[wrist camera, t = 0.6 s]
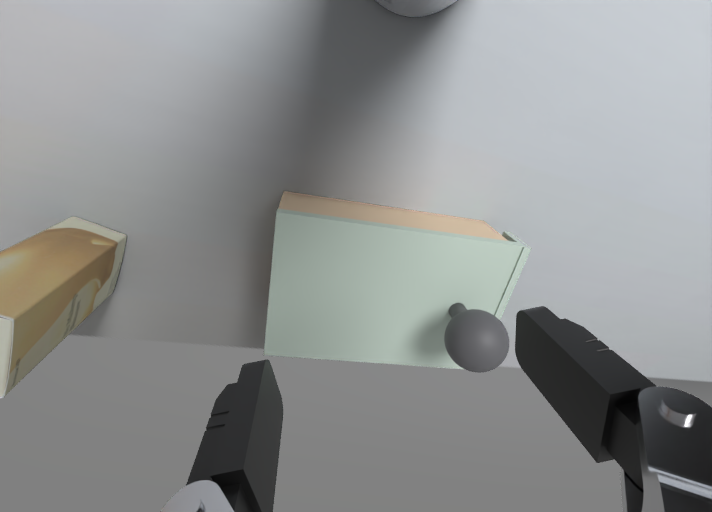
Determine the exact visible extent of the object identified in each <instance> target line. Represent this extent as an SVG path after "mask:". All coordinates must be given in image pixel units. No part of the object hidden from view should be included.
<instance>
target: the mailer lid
mask: <svg viewBox="0 0 712 512" xmlns="http://www.w3.org/2000/svg"><path fill="white" fill-rule="evenodd" d="M502 236H503V237H504V238H505V239H507V240H508V241H505V240H498V239H490V238H483V237H476V236H469V235H462V234H455V233H448V232H441V231H434V230H427V229H419V228H412V227H405V226H398V225H391V224H384V223H377V222H370V221H363V220H356V219H348V218H341V217H334V216H327V215H320V214H313V213H306V212H299V211H292V210H285V209H277V212H276V222H275V233H274V244H273V255H272V266H271V278H270V289H269V300H268V311H267V322H266V333H265V345H264V355H267V356H281V357H296V358H310V359H325V360H339V361H353V362H368V363H382V364H396V365H411V366H425V367H440V368H454V369H466V370H468V371H472V372H487V371H490V370H493V369H495V368H496V367H498V366H499V365H500V364H501V363H502V362H503V361H504V359H505V358H506V356H507V353H508V350H509V337H508V333H507V331H506V328H505V327H504V325H503V324H502V322H501V321H500V319H501V317H502V314H503V312H504V310H505V308H506V305H507V303H508V301H509V299H510V296H511V294H512V292H513V289H514V287H515V285H516V283H517V280H518V278H519V276H520V273H521V271H522V269H523V267H524V264H525V262H526V260H527V258H528V255H529V253H530V251H531V248H530V247H529V246H528V245H526V244H525V243H524V242H522V241H521V240H520V239H518V238H517V237H516V236H514V235H513V234H512V233H510V232H503V235H502Z"/></svg>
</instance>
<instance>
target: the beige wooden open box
mask: <svg viewBox="0 0 712 512" xmlns="http://www.w3.org/2000/svg"><path fill="white" fill-rule="evenodd" d="M278 209H285V210H292V211H299V212H306V213H313V214H320V215H327V216H334V217H341V218H348V219H356V220H363V221H370V222H377V223H384V224H391V225H398V226H405V227H412V228H419V229H427V230H434V231H441V232H448V233H455V234H462V235H469V236H476V237H483V238H490V239H498V240H505V241H508V240H507V239H505V238H504V237H503V236H502V235H501V234H499V233H498V232H497V231H496V230H494V229H493V228H492V227H491V226H489V225H488V224H487V223H486V222H484V221H481V220H474V219H467V218H461V217H454V216H447V215H441V214H434V213H427V212H421V211H414V210H407V209H401V208H394V207H387V206H380V205H374V204H367V203H360V202H354V201H347V200H340V199H334V198H327V197H320V196H314V195H307V194H300V193H294V192H287V191H284V192H283V195H282V198H281V201H280V204H279V208H278Z"/></svg>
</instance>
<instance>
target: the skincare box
mask: <svg viewBox="0 0 712 512" xmlns="http://www.w3.org/2000/svg"><path fill="white" fill-rule="evenodd" d="M126 239H127V236H126V235H125V234H122V233H119V232H116V231H114V230H111V229H109V228H106V227H103V226H100V225H98V224H95V223H92V222H89V221H86V220H83V219H80V218H77V217H70V218H68V219H66V220H64V221H62V222H60V223H58V224H56V225H54V226H52V227H50V228H48V229H46V230H44V231H42V232H40V233H38V234H35V235H33V236H31V237H29V238H27V239H25V240H23V241H21V242H19V243H17V244H15V245H13V246H11V247H9V248H7V249H5V250H3V251H1V252H0V398H3V397H5V396H6V395H7V393H8V392H10V390H12V389H13V388H14V387H15V386H16V385H17V384H18V382H20V381H21V380H22V379H23V378H24V377H25V376H26V375H27V374H28V373H29V372H30V371H31V370H32V369H33V368H34V367H35V366H36V365H37V364H38V363H40V361H42V360H43V359H44V358H45V357H46V356H47V355H48V354H49V353H50V352H51V351H52V350H53V349H54V348H55V347H56V346H57V345H58V344H59V343H60V342H61V341H62V340H63V339H65V338H66V337H67V336H68V335H69V334H70V333H71V332H72V331H73V330H74V329H75V328H76V327H77V326H78V325H79V324H80V323H81V322H82V321H83V320H84V319H85V318H86V317H87V316H88V315H89V314H90V313H92V312H93V311H94V310H95V309H96V308H97V307H98V306H99V305H100V304H101V303H102V302H103V301H104V300H105V299H106V298H107V297H108V296H109V295H110V294H112V292H113V291H114V288H115V285H116V281H117V278H118V274H119V271H120V267H121V263H122V259H123V254H124V249H125V244H126Z"/></svg>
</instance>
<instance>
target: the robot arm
mask: <svg viewBox="0 0 712 512" xmlns="http://www.w3.org/2000/svg"><path fill="white" fill-rule="evenodd" d="M376 1H377V2H378V3H379V4H380V5H382V6H383V7H384V8H386V9H388V10H390V11H392V12H394V13H396V14H398V15H403V16H408V17H421V16H427V15H430V14H433V13H437V12H439V11H441V10H443V9H444V8H446V7H448V6H449V5H451V4H453V3H454V2H456V1H458V0H376ZM515 352H516V357H517V360H518V362H519V364H520V366H521V368H522V369H523V371H524V372H525V373H526V374H527V376H528V377H529V378H530V379H531V381H532V382H533V383H534V384H535V386H536V387H537V388H538V389H539V391H540V392H541V393H542V394H543V396H544V397H545V398H546V399H547V401H548V402H549V403H550V404H551V406H552V407H553V408H554V410H555V411H556V412H557V413H558V414H559V416H560V417H561V418H562V420H563V421H564V422H565V423H566V425H567V426H568V427H569V428H570V429H571V431H572V432H573V433H574V434H575V436H576V437H577V438H578V440H579V441H580V442H581V443H582V445H583V446H584V447H585V448H586V449H587V451H588V452H589V453H590V455H591V456H592V457H593V458H594V460H595V461H596V462H597V463H599V462H604V461H608V460H613V459H615V460H616V461H617V463H618V464H619V465H620V466H621V467H622V468H621V472H620V481H621V495H622V508H623V512H712V407H711V406H710V405H708V404H707V403H706V402H704V401H703V400H701V399H699V398H698V397H695V396H694V395H692V394H689V393H687V392H684V391H682V390H678V389H675V388H670V387H663V386H656V385H655V384H653V383H652V382H651V381H650V380H648V379H647V378H646V377H645V376H643V375H642V374H641V373H640V372H638V371H637V370H636V369H635V368H634V367H632V366H631V365H630V364H629V363H627V362H626V361H625V360H624V359H622V358H621V357H620V356H619V355H617V354H616V353H615V352H614V351H612V350H609V347H608V346H606V345H605V344H604V343H603V342H601V341H600V340H599V341H598V340H597V338H596V337H595V336H594V335H593V334H591V333H590V332H589V331H588V330H586V329H585V328H584V327H582V326H580V325H578V324H576V323H574V322H571V321H569V320H567V319H559V318H558V317H557V316H556V315H555V314H553V313H552V312H551V311H550V310H549V309H548V308H546V307H544V306H541V307H536V308H531V309H526V310H521V311H519V312H518V313H517V317H516V342H515ZM282 421H283V404H282V398H281V394H280V391H279V388H278V385H277V382H276V379H275V376H274V373H273V370H272V367H271V365H270V362H269V360H263V361H257V362H252V363H247V364H244V365H243V366H242V368H241V372H240V375H239V378H238V382H237V383H233V384H228V385H227V386H226V387H225V389H224V390H223V391H222V393H221V394H220V395H219V396H218V398H217V399H216V401H215V404H214V407H213V410H212V413H211V418H209V421H208V424H207V427H206V429H207V431H205V433H204V436H203V439H202V442H201V445H200V447H199V450H198V453H197V456H196V459H195V462H194V465H193V467H192V470H191V473H190V476H189V479H188V482H187V484H186V486H185V487H184V488H182V489H181V490H179V491H178V492H177V493H175V494H174V495H173V496H172V497H171V498H170V499H169V500H168V501H167V503H166V504H165V505H164V507H163V508H162V510H161V511H160V512H273V504H274V494H275V485H276V476H277V467H278V458H279V447H280V439H281V430H282Z"/></svg>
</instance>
